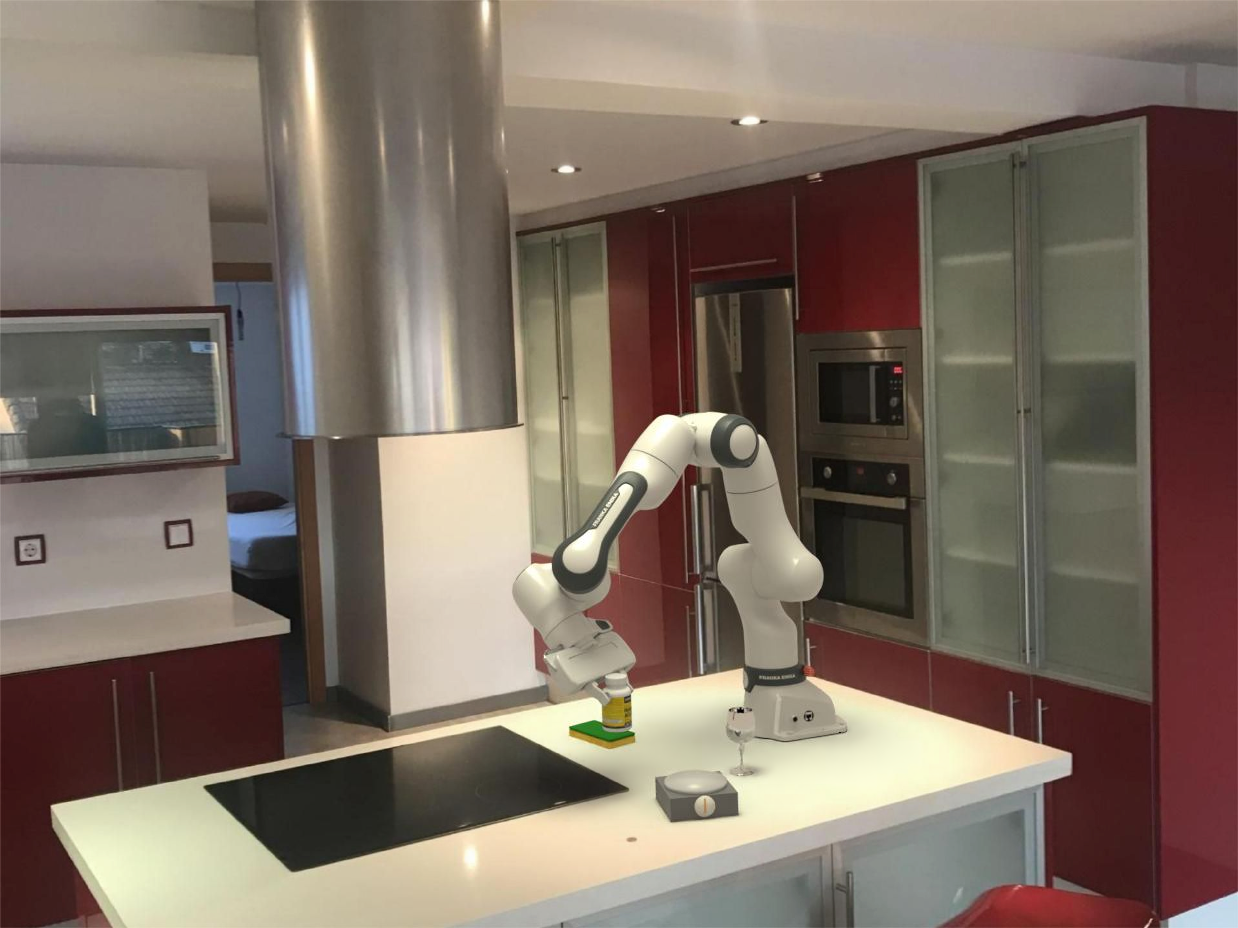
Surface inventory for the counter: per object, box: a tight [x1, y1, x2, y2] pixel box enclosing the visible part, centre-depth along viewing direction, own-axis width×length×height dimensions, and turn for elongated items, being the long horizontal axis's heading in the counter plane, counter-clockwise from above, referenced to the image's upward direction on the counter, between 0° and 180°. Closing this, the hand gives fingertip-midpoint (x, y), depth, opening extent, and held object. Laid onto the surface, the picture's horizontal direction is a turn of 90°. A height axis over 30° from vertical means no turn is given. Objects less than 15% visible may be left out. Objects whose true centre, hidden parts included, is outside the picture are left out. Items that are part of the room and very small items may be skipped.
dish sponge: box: [568, 719, 636, 750], centre depth 271 cm, size 7×14×2 cm, turn 40°
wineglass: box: [725, 706, 756, 776], centre depth 246 cm, size 6×6×12 cm
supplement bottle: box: [601, 673, 633, 732], centre depth 235 cm, size 5×5×10 cm
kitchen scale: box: [654, 769, 739, 823], centre depth 228 cm, size 12×13×5 cm
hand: (619, 698), depth 235 cm, fingers closed on supplement bottle, 5 cm apart
